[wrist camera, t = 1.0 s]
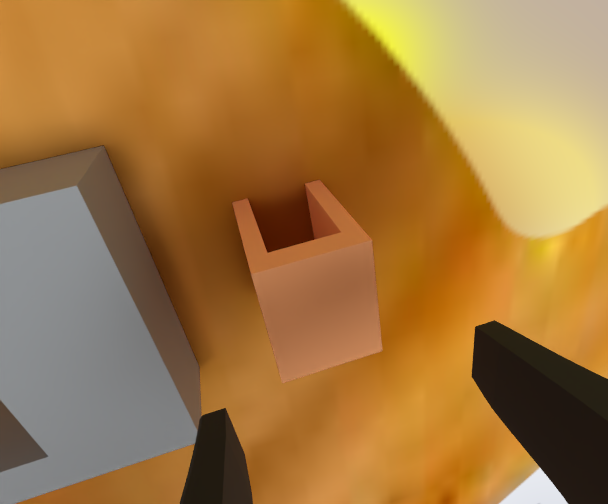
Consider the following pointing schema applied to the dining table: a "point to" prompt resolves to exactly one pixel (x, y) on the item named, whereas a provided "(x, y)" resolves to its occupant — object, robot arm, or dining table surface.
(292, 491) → the dining table surface
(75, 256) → the thick gray rectangular frame
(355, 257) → the open-top orange sleeve
